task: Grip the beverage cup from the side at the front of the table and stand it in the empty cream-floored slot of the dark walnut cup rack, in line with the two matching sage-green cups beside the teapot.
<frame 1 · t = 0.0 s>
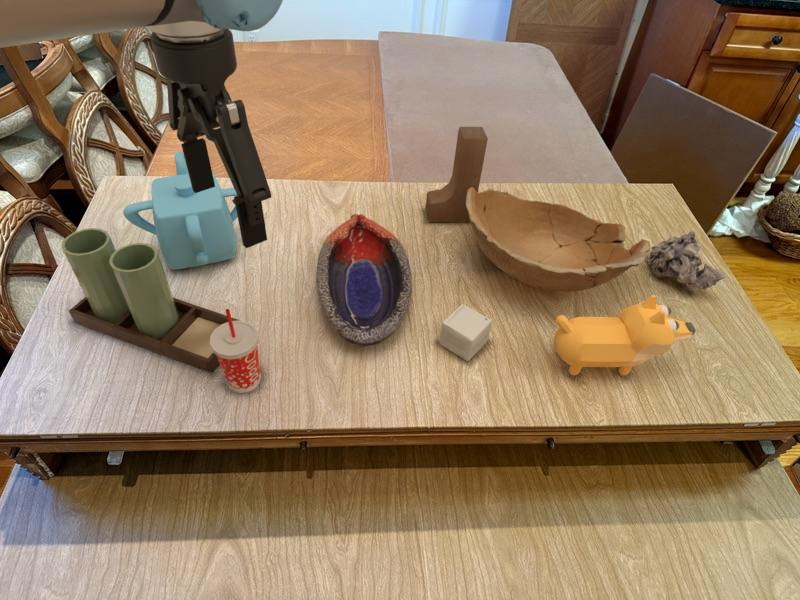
hand: (228, 214, 66), 23 cm above the table, tool pointing down, fingers open, 13 cm apart
dog: (606, 365, 82), on the table
dish: (364, 288, 91), on the table
wooden block: (448, 216, 107), on the table
small box: (462, 343, 83), on the table
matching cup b: (117, 312, 84), resting on cup rack
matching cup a: (147, 294, 77), in the cup rack
teapot: (199, 242, 97), on the table
cup rack: (160, 327, 82), on the table
ceramic bowl: (538, 267, 98), on the table
beverage cup: (244, 380, 76), on the table
mineral specimen: (670, 277, 98), on the table
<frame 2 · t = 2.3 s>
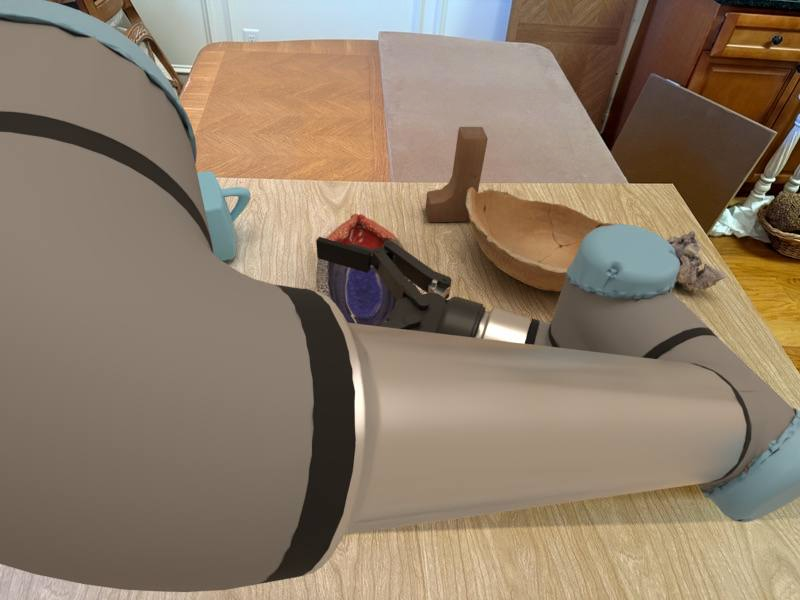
hand: (289, 283, 59), 22 cm above the table, tool horizontal, fingers open, 13 cm apart
nothing on the table moved.
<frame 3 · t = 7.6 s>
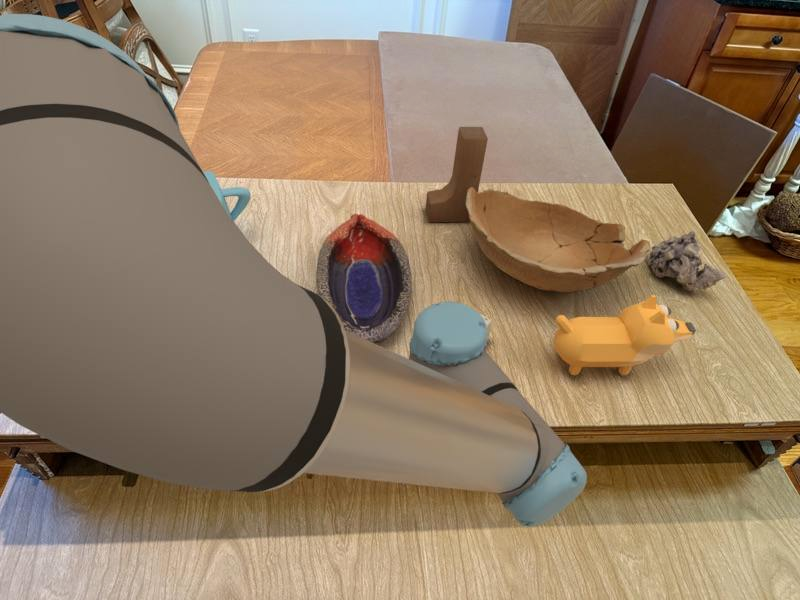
hand: (201, 328, 71), 8 cm above the table, tool horizontal, fingers closed on beverage cup, 6 cm apart
beverage cup: (244, 380, 76), on the table, touching gripper
everything else where it was.
when the fingers open (9 cm above the table, at t = 15.4 s): beverage cup stays where it is, resting on cup rack.
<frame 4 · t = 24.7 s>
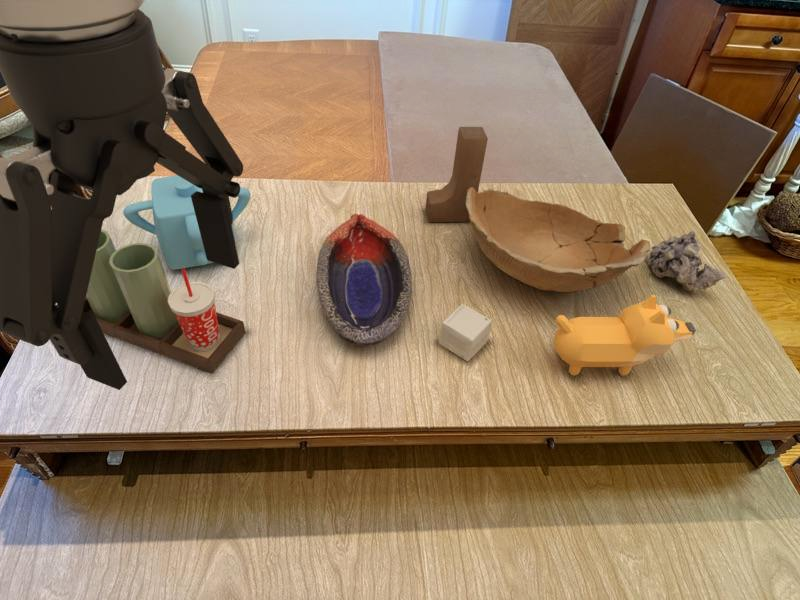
hand: (171, 314, 41), 32 cm above the table, tool pointing down, fingers open, 13 cm apart
beverage cup: (204, 340, 80), point 1 cm above the table, touching cup rack
everything else where it was.
at the end: beverage cup 0.1 cm from the target spot in the cup rack, point 0.5 cm above the cup rack's base; beverage cup tilted 0°; beverage cup 24.9 cm from the teapot (horizontally) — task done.
